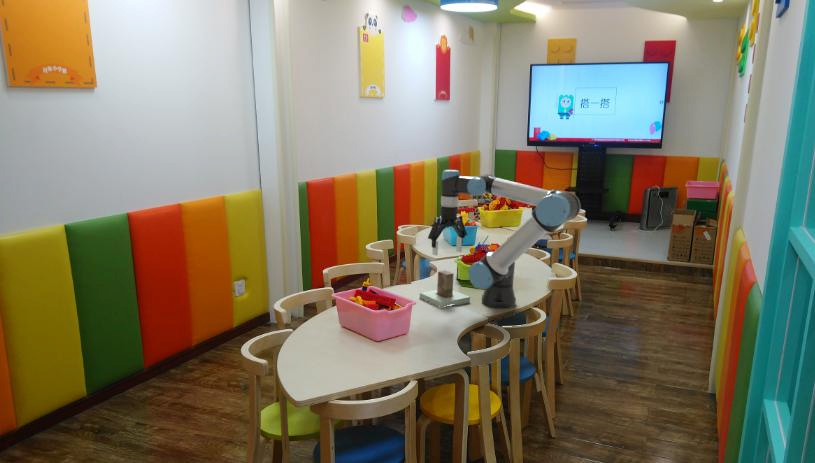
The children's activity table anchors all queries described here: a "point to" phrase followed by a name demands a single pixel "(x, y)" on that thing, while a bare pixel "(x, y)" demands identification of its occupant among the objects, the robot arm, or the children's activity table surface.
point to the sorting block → (441, 301)
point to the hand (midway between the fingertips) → (447, 253)
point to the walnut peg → (445, 284)
